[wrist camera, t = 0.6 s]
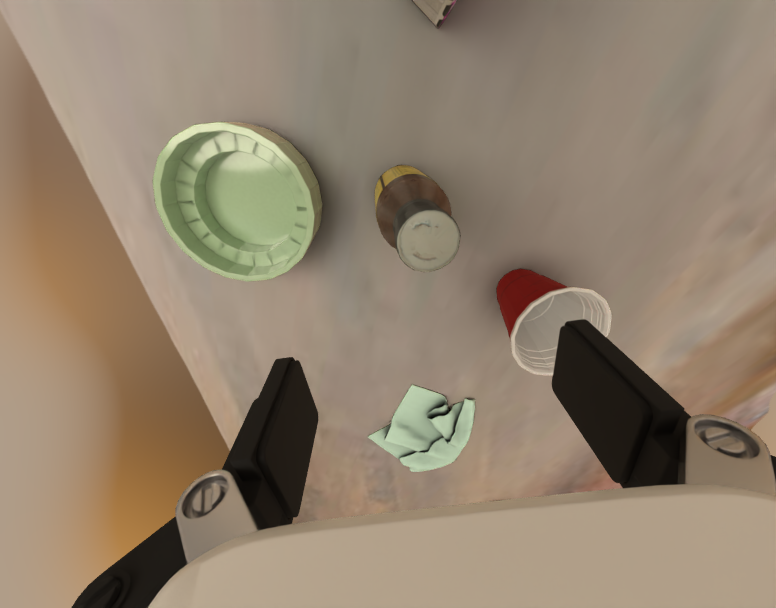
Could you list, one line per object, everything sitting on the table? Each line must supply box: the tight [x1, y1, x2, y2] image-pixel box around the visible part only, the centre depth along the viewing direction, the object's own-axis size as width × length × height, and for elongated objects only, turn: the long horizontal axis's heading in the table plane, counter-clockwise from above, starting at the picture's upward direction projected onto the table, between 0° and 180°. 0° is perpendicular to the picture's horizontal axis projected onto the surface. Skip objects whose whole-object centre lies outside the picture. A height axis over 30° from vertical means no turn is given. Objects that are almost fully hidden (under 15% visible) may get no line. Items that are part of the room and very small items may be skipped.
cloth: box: [368, 385, 475, 472], centre depth 56 cm, size 20×22×2 cm
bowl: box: [153, 122, 323, 281], centre depth 34 cm, size 15×15×6 cm
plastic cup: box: [497, 269, 612, 376], centre depth 38 cm, size 11×11×12 cm
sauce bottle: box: [375, 165, 460, 272], centre depth 28 cm, size 6×6×20 cm
